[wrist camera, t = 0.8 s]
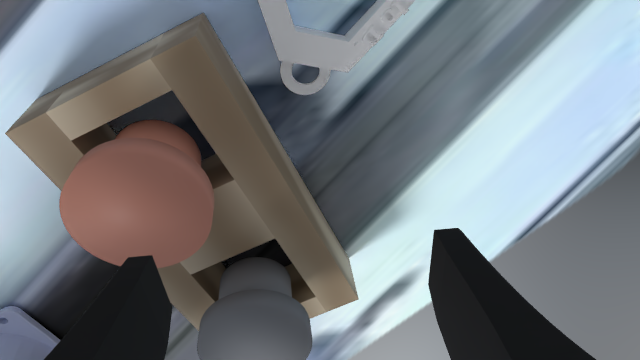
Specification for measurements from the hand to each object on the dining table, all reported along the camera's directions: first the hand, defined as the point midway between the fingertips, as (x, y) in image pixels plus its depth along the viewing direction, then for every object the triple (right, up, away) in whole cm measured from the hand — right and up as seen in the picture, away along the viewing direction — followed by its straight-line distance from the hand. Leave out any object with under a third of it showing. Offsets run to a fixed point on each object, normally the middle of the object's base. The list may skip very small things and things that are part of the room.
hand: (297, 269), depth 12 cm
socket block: (-5, +2, +11) cm, 12 cm away
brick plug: (-6, +3, +6) cm, 9 cm away
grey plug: (-2, -3, +11) cm, 11 cm away
